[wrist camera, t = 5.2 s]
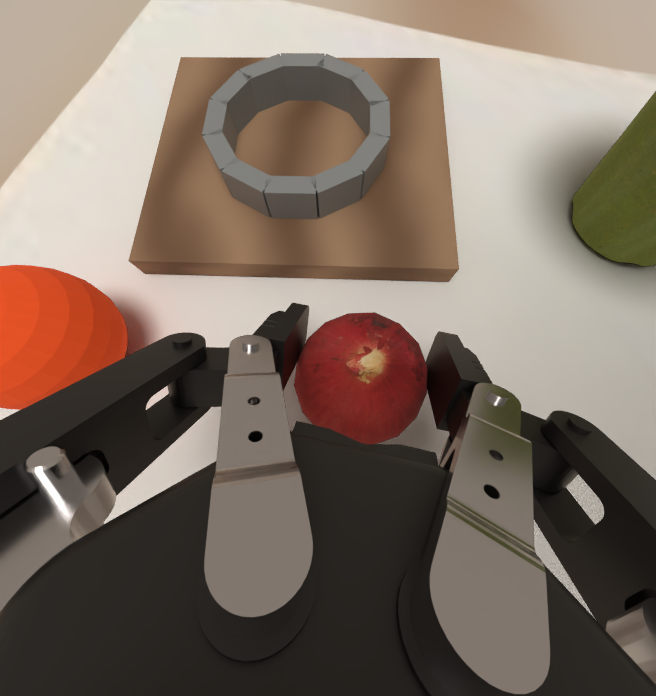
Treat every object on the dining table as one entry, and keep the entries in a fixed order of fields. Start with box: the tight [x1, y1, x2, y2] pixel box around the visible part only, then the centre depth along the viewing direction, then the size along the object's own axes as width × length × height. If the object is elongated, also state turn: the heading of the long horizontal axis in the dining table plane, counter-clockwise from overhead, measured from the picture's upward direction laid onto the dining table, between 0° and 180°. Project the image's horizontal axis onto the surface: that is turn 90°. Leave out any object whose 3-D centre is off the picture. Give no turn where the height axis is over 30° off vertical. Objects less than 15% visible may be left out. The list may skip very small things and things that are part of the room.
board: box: [129, 57, 459, 282], centre depth 19 cm, size 20×18×2 cm
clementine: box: [0, 265, 128, 410], centre depth 13 cm, size 8×7×7 cm
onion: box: [294, 313, 428, 444], centre depth 12 cm, size 6×6×8 cm
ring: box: [202, 53, 390, 219], centre depth 18 cm, size 11×11×2 cm
